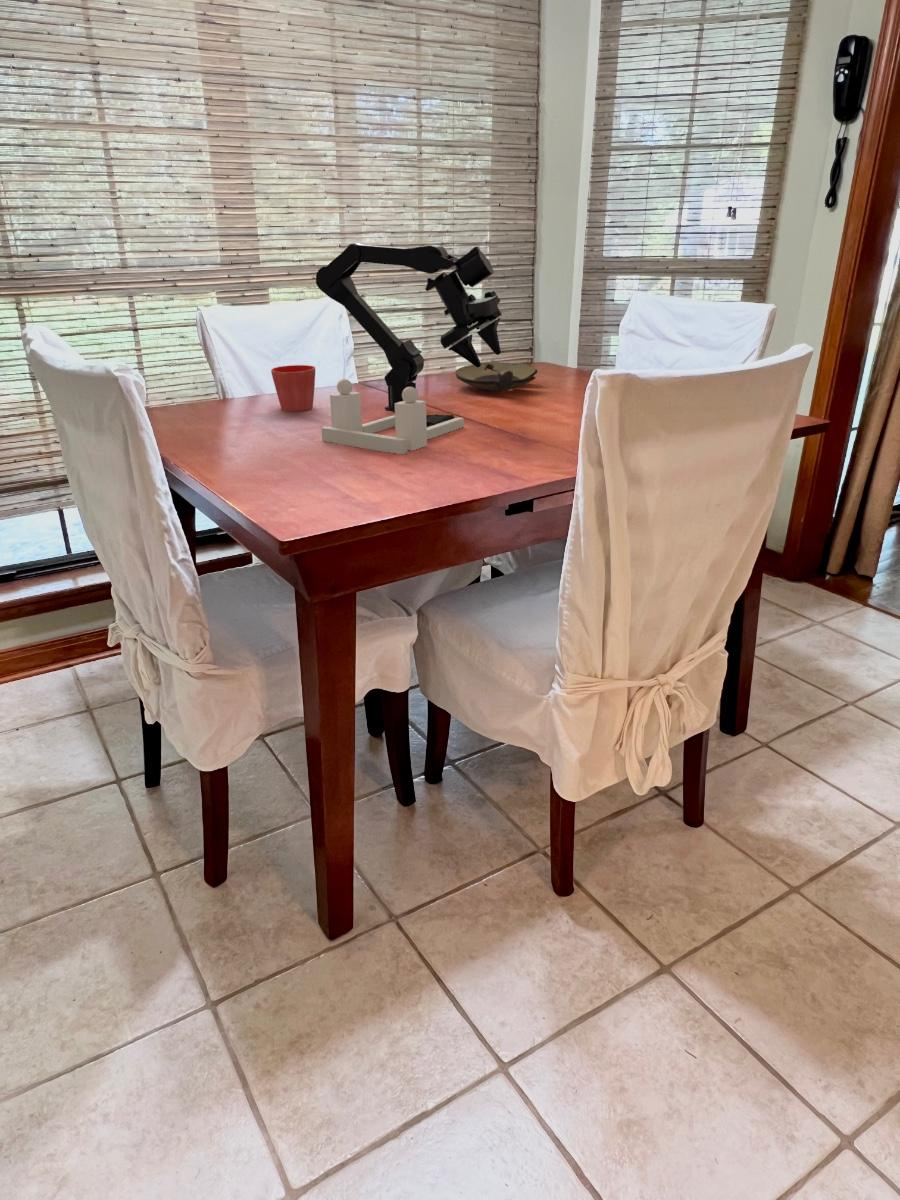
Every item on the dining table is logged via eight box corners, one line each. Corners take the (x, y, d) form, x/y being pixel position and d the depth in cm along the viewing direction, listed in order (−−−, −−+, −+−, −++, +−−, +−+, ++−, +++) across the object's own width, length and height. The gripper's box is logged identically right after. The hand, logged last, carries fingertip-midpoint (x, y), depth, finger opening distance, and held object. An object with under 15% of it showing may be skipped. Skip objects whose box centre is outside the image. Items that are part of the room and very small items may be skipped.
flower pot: (266, 411, 198) (261, 370, 194) (290, 402, 207) (286, 363, 203) (303, 414, 195) (300, 372, 191) (326, 405, 204) (323, 365, 200)
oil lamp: (543, 382, 231) (544, 354, 228) (526, 402, 205) (526, 371, 201) (466, 379, 236) (466, 352, 233) (440, 399, 210) (439, 369, 207)
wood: (426, 418, 192) (426, 405, 190) (456, 419, 189) (455, 406, 188) (389, 439, 173) (388, 425, 171) (421, 441, 170) (421, 427, 169)
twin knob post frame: (322, 441, 170) (317, 382, 165) (399, 417, 190) (397, 365, 185) (402, 454, 159) (399, 392, 154) (474, 428, 179) (475, 372, 174)
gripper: (458, 292, 173) (494, 358, 177) (501, 271, 185) (534, 333, 189) (424, 316, 181) (459, 379, 184) (467, 294, 193) (499, 353, 197)
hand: (489, 360), depth 188 cm, fingers open, 9 cm apart
